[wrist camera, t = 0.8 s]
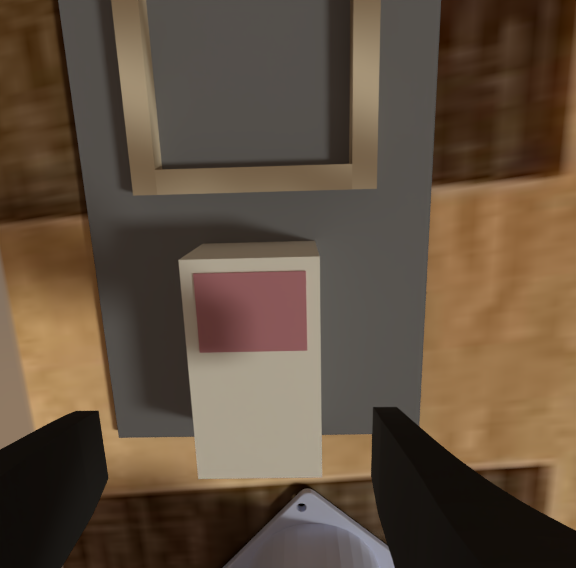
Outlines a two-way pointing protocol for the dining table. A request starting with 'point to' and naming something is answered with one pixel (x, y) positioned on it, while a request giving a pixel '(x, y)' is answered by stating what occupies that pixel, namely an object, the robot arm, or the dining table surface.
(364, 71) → the frame
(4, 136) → the dining table surface
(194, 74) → the mat
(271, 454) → the card box
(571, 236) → the dining table surface
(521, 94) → the dining table surface
